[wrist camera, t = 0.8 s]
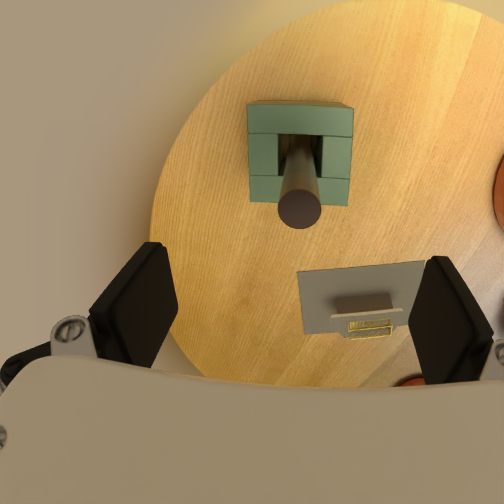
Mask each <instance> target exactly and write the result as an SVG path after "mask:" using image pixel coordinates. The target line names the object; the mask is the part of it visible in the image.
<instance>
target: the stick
mask: <svg viewBox="0 0 504 504" xmlns="http://www.w3.org/2000/svg"><path fill="white" fill-rule="evenodd" d="M278 214H279V217H280V219H281V220H282V221H283V222H284V223H285V224H286V225H288V226H289V227H291V228H295V229H305V228H308V227H310V226H312V225H313V224H315V223H316V222H317V220H318V219H319V217H320V214H321V203H320V196H319V190H318V183H317V177H316V171H315V165H314V159H313V153H312V148H311V142H310V137H309V135H303V134H292V135H291V137H290V142H289V148H288V153H287V159H286V164H285V170H284V175H283V181H282V186H281V192H280V197H279V202H278Z"/></svg>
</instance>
